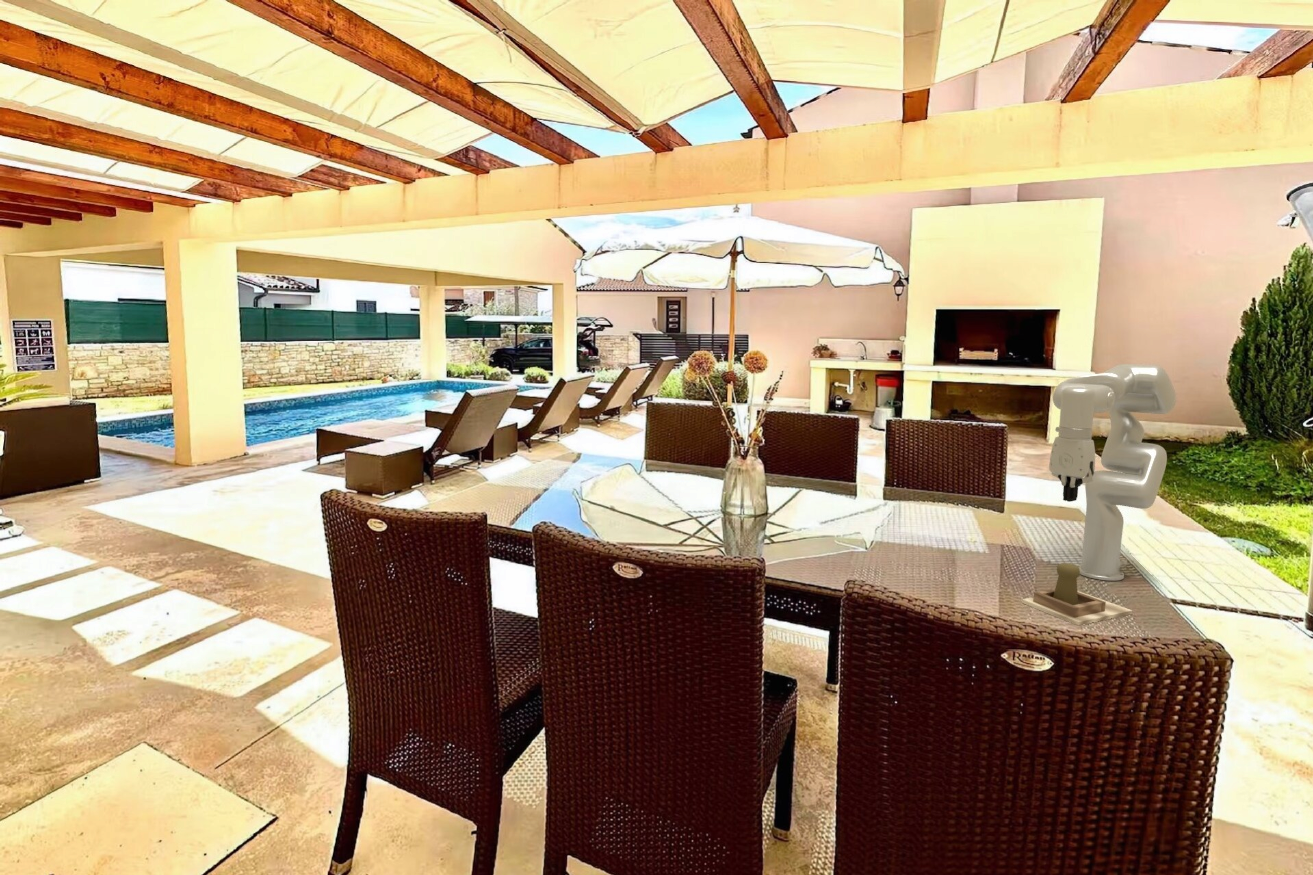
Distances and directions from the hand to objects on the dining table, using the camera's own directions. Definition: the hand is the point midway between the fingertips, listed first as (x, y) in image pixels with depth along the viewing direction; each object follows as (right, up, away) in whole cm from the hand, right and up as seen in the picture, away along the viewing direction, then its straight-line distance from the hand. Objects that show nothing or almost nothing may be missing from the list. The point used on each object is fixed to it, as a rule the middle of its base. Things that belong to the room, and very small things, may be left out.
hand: (1069, 500), depth 184 cm
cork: (-4, -27, -5) cm, 28 cm away
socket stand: (-2, -28, -5) cm, 29 cm away
